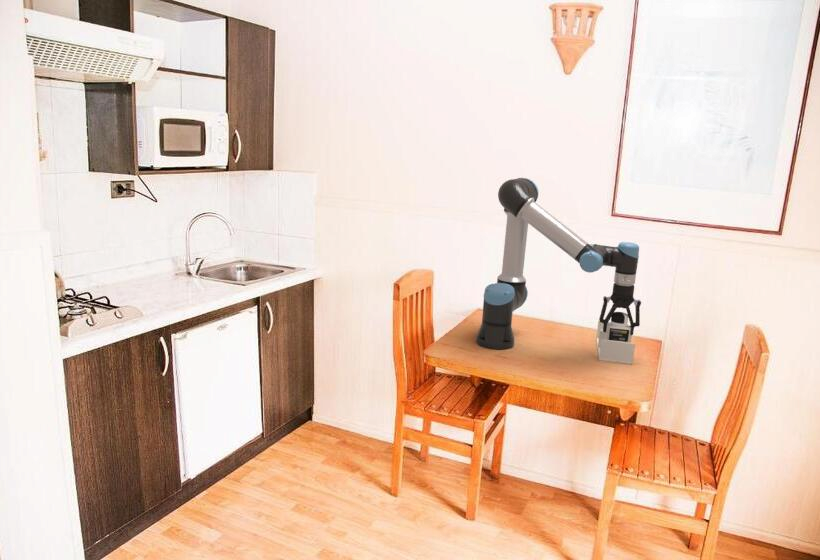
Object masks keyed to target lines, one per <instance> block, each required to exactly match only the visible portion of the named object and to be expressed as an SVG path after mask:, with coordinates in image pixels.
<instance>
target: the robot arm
mask: <svg viewBox="0 0 820 560" xmlns="http://www.w3.org/2000/svg"><path fill="white" fill-rule="evenodd" d="M497 198H498V201H499V203H500V205H501V207H503V212H504V213H505V215H506V224H505V225H506V226H505V236H504V244H503V248H504V249H503V257H502V265H501V266H502V267H501V273H500V274H499V275H498V276H497V279H496V282H495V283H490V284H488V285H487V286H486V287H485V289H484V292H483V304H482V306H483V307H482V316H481V317H482V320H481V324H480V327H479V329H478V332H477V334H476V337H475V342H476V344H477V345H479V346H480V347H484V348H488V349H492V350H507V349H508V350H509V349H511V348H513V347H514V346H515V335H514V331H513V328H512V321H513V312H515V311H516V310H517V309H519V308H521V307H522V306H523V305H524V304H525V302H526V301H527V299H528V294H529V293H528V287H527V286H526V283H527V279H526V278H525V276H524V267H525V258H526V257H525V256H526V247H527V241H528V240H527V238H528V230H529V228H528V227H529V226H531V227H533V229H535V230H536V231H538V232H539V234H542V235H543V236H544V237H545V238H546V239H548V240H549V241H550V242H552V243H553V244H554V245H555V246H556V247H558V248H559V249H560V250H562V251H563V252H565V253H566V254H567V255H568V256H569V257H571V258H572V259H574V260H575V261H576V262H577V263H578V264H579V267H580V268H581V270H582V271H584V272H586V273H594V272H597V271H599V270H600V269H601V268H602V267H603V266H605V267H611V268H612V267H614V268H615V270H614V276H613V277H614V278H613V282H614V283H613V286H612V292H611V295H610V296H603V297H602V298H603V300H602V301H603V303H602V307H601V311H600V315H599V317H598V319H599V320H598V321H600V322H602V323H603V324H604V325H603V332H606V333H605V340H607V339H608V331H609V323H608V322H610V321H611V317H612V315H613V313H614V312H616V310H617V308H618V309H625V310H626V314H627V315H628V322H629V323H630V324H629V325H628V327H629V337H628V342H629V339H630V335H632V336H633V335H634V331H635V328H636V327H640V324H641V322H640V318H641V317H640V311H641V310H640V307H641V305H642V301H641V299H636V298H635V297H634V293H635V284H636V279H637V271H638V269H637V268H638V263H639V257H640V256H639V255H640V254H639V253H640V245H638V244H637V243H635V242H627V241H622V242H619V243H618V246H610V245H602V244H597V243H594V244H593V243H588V242H587V241H586V240H584V239H583V238H582V237H580V236H579V235H578V234H577V233H575V232H574V231H573V230H571V229H570V228H569V227H567V225H565V224H564V223H562V222H561V221H560V220H559V219H558V218H556V217H555V216H553V215H552V214H550V212H548V211H547V210H546V209H544V208H543V207H542V206H541V205H539V204H537V200H538V198H539V189H538V185H537V184H536V183H535V182H534V180H532V179H529V178H527V177H518V178H513V179H512V178H511V179H508V180H506V181H504V182H503V183H502V184H501V185H500V186H499V189H498V192H497ZM610 301H611V302H612V303H613V304H612V305H611V308H610V309H609V311H608V312H607V315H606V311H607V307H608V303H610ZM631 304H634V306H635V309H634V310H635V322H634V320H633V317H632V316H633V315H632V312H631V308H630V306H631ZM605 315H606V316H605Z"/></svg>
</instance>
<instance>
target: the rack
mask: <svg viewBox="0 0 820 560" xmlns="http://www.w3.org/2000/svg"><path fill="white" fill-rule="evenodd" d="M603 325H604V324H603V323H602V322H600V321H599V320H598V323H597V329H596V338H595V339H596V340H595V341H596V346H597V347H596V348H597V354H598V360H599V361H603V362H613V363H618V364H619V363H621V364H626V365H627V364H628V365H633V362H634V356H635V349H636V348H635V347H636V342H632V338H633V337H632V336H633V335H630V339H629V342H622V341H613V340H605V333H606V332H603ZM627 325H629V326H630V324H628V323H627Z"/></svg>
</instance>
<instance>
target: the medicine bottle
mask: <svg viewBox="0 0 820 560" xmlns="http://www.w3.org/2000/svg"><path fill="white" fill-rule="evenodd" d="M608 323H609V331H608V339H607V340H613V341H622V342H628V337H629V327H628V325H627V324H628V323H629V317H628V314H627V312H626V313H625V312H622V311H614V313H613V315H612V317H611V318H610V321H609V322H608Z"/></svg>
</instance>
